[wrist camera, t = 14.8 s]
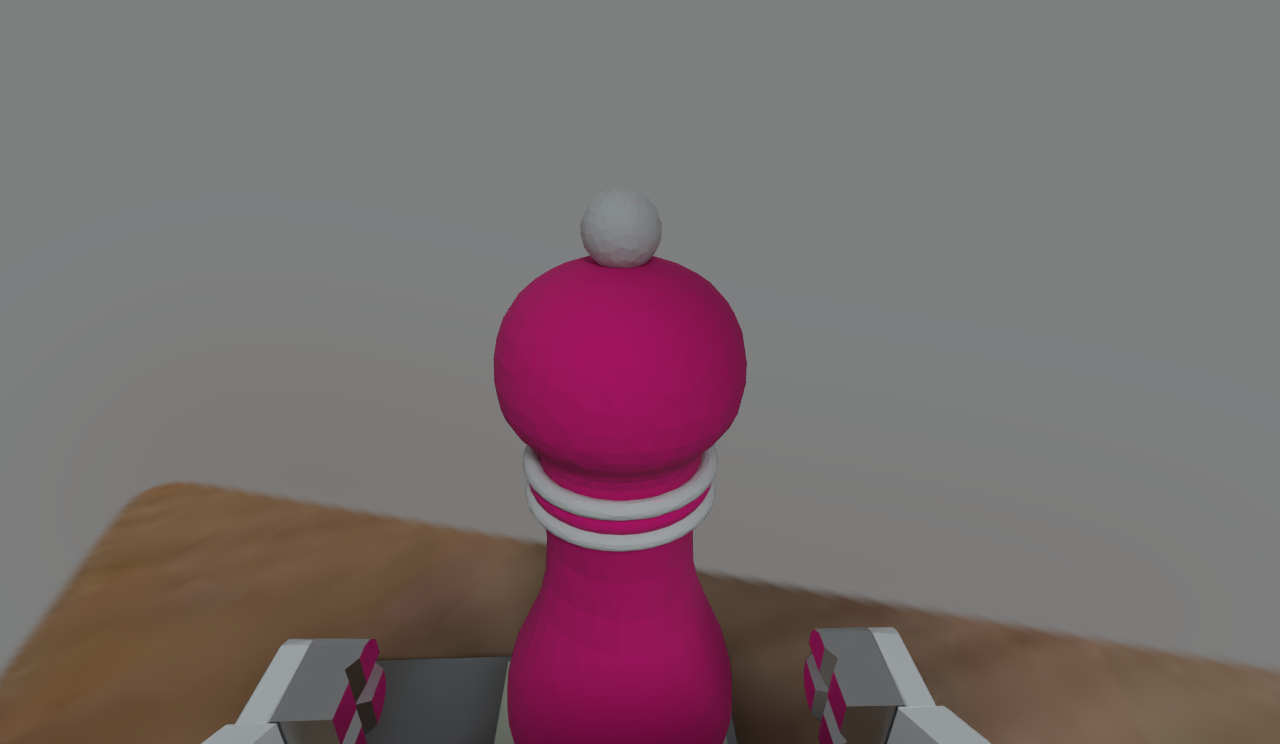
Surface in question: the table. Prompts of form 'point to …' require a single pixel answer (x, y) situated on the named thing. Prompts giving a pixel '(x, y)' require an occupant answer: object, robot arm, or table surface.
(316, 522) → the table surface
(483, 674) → the tile board
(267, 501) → the table surface
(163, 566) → the table surface
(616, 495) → the pepper mill
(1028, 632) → the table surface
